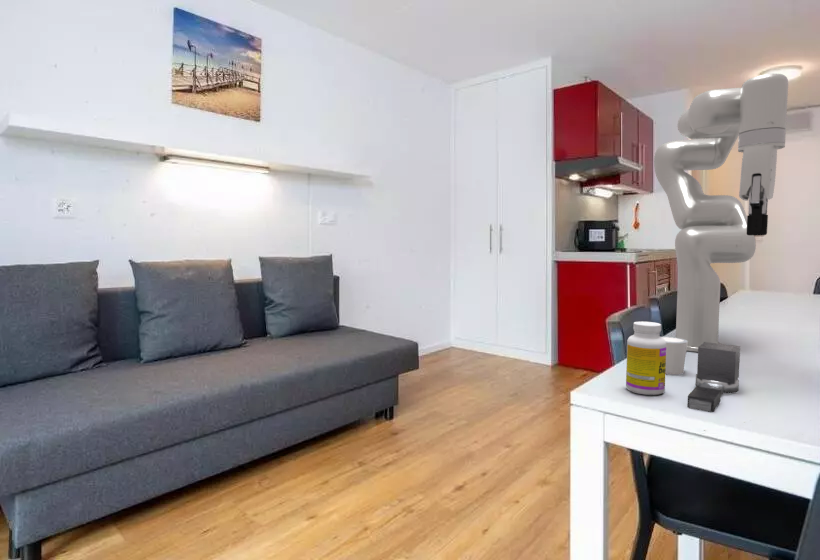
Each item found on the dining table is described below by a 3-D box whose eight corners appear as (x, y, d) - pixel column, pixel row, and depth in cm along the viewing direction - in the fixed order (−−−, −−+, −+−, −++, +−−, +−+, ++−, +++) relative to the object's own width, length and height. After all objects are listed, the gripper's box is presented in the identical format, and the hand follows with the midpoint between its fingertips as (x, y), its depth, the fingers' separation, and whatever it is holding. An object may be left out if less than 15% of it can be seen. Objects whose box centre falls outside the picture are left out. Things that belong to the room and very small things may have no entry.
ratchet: (699, 380, 98) (700, 351, 97) (740, 387, 93) (742, 356, 93) (676, 405, 83) (677, 371, 83) (724, 415, 79) (725, 379, 78)
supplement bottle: (663, 398, 87) (665, 327, 86) (623, 392, 90) (625, 324, 89) (666, 388, 93) (668, 322, 91) (628, 383, 96) (630, 319, 95)
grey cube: (702, 371, 97) (704, 342, 97) (738, 376, 93) (740, 346, 93) (697, 378, 93) (698, 347, 92) (734, 384, 89) (735, 351, 88)
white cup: (691, 376, 101) (692, 343, 100) (655, 374, 102) (656, 342, 101) (680, 367, 107) (681, 336, 107) (646, 366, 109) (647, 335, 108)
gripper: (743, 149, 104) (739, 235, 105) (732, 138, 92) (728, 235, 94) (787, 144, 99) (783, 235, 100) (782, 132, 87) (777, 235, 89)
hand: (756, 235), depth 97 cm, fingers closed
